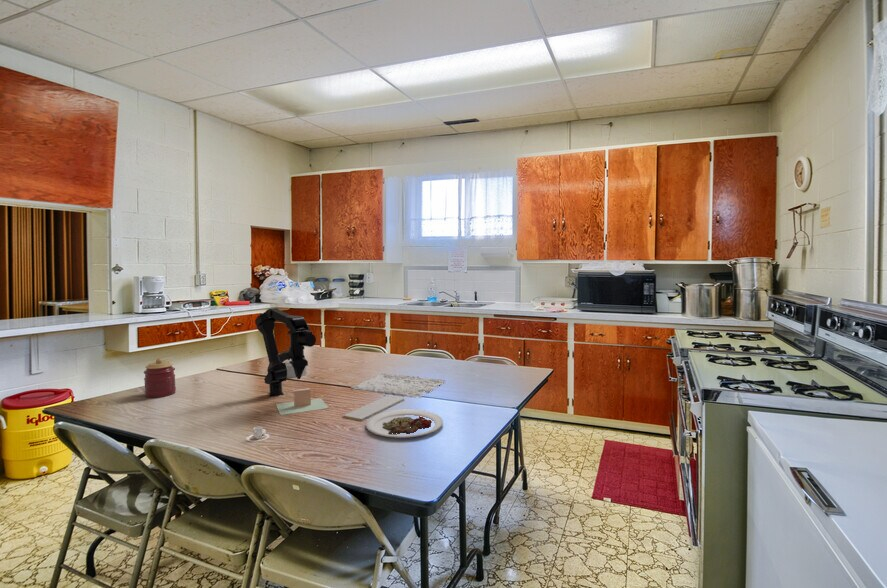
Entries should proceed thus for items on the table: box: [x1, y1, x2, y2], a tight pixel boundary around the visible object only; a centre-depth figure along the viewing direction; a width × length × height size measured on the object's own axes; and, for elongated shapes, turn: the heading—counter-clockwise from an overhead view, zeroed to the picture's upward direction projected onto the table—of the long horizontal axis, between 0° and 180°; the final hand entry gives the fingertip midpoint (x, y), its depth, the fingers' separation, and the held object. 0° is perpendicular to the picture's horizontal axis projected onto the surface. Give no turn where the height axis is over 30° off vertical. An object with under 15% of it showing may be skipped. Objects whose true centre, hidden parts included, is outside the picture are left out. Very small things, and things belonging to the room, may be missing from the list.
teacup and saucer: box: [245, 426, 270, 443], centre depth 168 cm, size 9×8×4 cm
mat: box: [275, 397, 329, 416], centre depth 203 cm, size 16×20×1 cm
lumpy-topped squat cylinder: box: [284, 359, 308, 379], centre depth 258 cm, size 10×13×9 cm
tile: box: [292, 387, 312, 407], centre depth 204 cm, size 2×7×7 cm, turn 117°
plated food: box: [365, 408, 444, 439], centre depth 179 cm, size 30×30×3 cm
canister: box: [143, 358, 177, 399], centre depth 223 cm, size 13×13×18 cm
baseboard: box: [341, 394, 405, 422], centre depth 201 cm, size 31×3×12 cm
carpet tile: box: [350, 373, 446, 398], centre depth 237 cm, size 39×30×2 cm
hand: (297, 378), depth 210 cm, fingers open, 4 cm apart
